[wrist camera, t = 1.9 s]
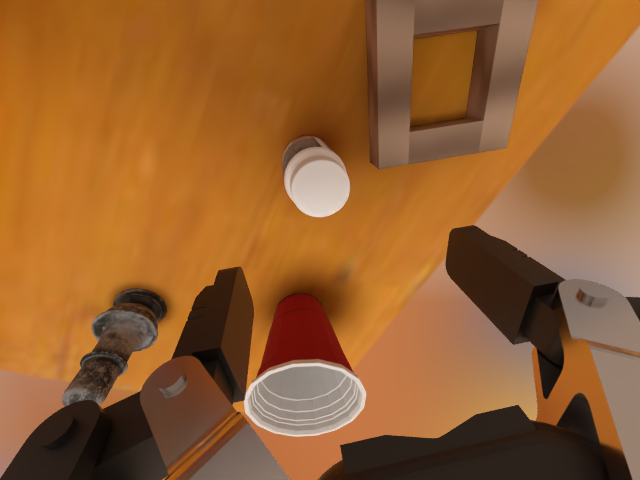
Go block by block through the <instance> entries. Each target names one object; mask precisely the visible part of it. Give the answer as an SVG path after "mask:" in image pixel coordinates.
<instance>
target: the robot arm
mask: <svg viewBox="0 0 640 480" xmlns="http://www.w3.org/2000/svg"><path fill="white" fill-rule="evenodd" d="M446 270H447V273H448V275H449V276H450V278H451V279H452V280H453V281H454V282H455V283H456V284H457V285H458V286H459V287H460V289H461V290H462V291H463V292H464V293H465V294H466V295H467V296H468V297H469V298H470V299H471V300H472V301H473V302H474V303H475V304H476V306H477V307H478V308H479V309H480V310H481V311H482V312H483V313H484V314H485V315H486V316H487V317H488V318H489V319H490V321H492V323H493V324H494V325H495V326H496V327H497V328H498V329H499V330H500V331H501V332H502V333H503V334H504V335H505V336H506V337H507V338H508V340H509V341H510V342H511V343H512V344H513V345H514V344H519V343H524V342H529V341H530V342H531V343H532V344H533V345H534V347H533V349H532V363H533V371H534V380H535V388H536V397H537V409H538V410H537V418H536V421H533V420H530V419H529V418H528V417H527V416H526V414H525V413H524V412H523V410H521V408H520V407H519V405H516V406H511V407H507V408H503V409H498V410H494V411H489V412H485V413H481V414H476V415H474V416H473V417H471V418H470V419H468V420H467V421H465V422H464V423H462V424H460V425H459V426H457V427H456V428H454V429H453V430H451V431H450V432H448V433H446V434H445V435H443V436H441V437H439V438H433V439H432V438H418V437H405V436H391V435H383V436H379V437H375V438H370V439H366V440H362V441H357V442H353V443H349V444H344V445H341V446H340V447H341V453H342V458H343V460H341V461H340V462H338V463H337V464H335V465H333V466H332V467H331V468H330V469H329V470H327V471H326V472H325V473H324V474H323V475H322V476H321V477H320V478H319V479H318V480H640V298H639V297H624V296H623V295H621V294H620V293H619V292H617V291H615V290H613V289H611V288H609V287H607V286H605V285H602V284H599V283H596V282H592V281H587V280H579V279H572V280H565V279H563V278H562V277H560V276H559V275H557V274H556V273H554V272H552V271H551V270H549V269H548V268H546V267H545V266H543V265H542V264H540V263H539V262H537V261H535V260H534V259H532V258H531V257H527V255H526V254H525V253H523V252H521V251H520V250H519V251H518V250H517V248H515V247H514V246H512V245H511V244H509V243H508V242H506V241H504V240H501V239H499V238H496V237H493V236H490V235H488V234H487V233H486V232H484V231H482V230H481V229H480V228H478V227H476V226H474V225H471V226H466V227H460V228H455V229H452V230H451V232H450V235H449V241H448V249H447V256H446ZM253 317H254V308H253V301H252V297H251V294H250V291H249V288H248V285H247V282H246V279H245V276H244V273H243V270H242V268H241V267H234V268H228V269H223V270H219V271H218V273H217V276H216V279H215V282H214V285H212V286H206V287H205V288H204V289H203V290H202V291H201V292H200V294H199V295H198V296H197V297H196V299H195V301H194V304H193V306H192V311H190V314H189V316H188V321H186V324H185V326H184V329H183V332H182V334H181V337H180V339H179V342H178V344H177V347H176V349H175V352H174V354H173V357H172V359H171V360H170V361H168V362H166V363H164V364H163V365H161V366H160V367H159V368H157V369H156V370H155V371H154V372H153V373H152V374H151V375H150V376H149V378H148V379H147V380H146V382H145V383H144V385H143V387H142V390H141V391H140V392H138V393H136V394H134V395H132V396H130V397H128V398H126V399H123V400H121V401H119V402H117V403H115V404H113V405H111V406H108V407H106V408H104V409H102V408H101V407H100V406H99V405H98V404H97V403H96V402H95V401H93V400H81V401H77V402H74V403H72V404H70V405H67V406H65V407H64V408H62V409H60V410H59V411H57V412H55V413H54V414H53V415H52V416H50V417H49V418H47V419H46V420H45V421H44V422H43V423H41V424H40V425H39V426H38V427H37V428H36V429H35V430H34V432H33V433H32V434H31V435H30V436H29V437H28V439H27V440H26V441H25V443H24V444H23V446H22V447H21V449H20V450H19V452H18V453H17V455H16V456H15V458H14V459H13V461H12V462H11V464H10V465H9V466H8V468H7V469H6V471H5V472H4V474H3V476H2V477H1V478H0V480H162V479H163V478H165V477H167V476H168V477H167V478H166V479H165V480H290V479H289V477H288V476H287V475H286V473H285V472H284V470H283V469H282V468H281V466H280V465H279V464H278V463H277V461H276V460H275V458H274V457H273V456H272V454H271V453H270V451H269V450H268V449H267V447H266V446H265V445H264V443H263V442H262V441H261V439H260V438H259V436H258V435H257V434H256V432H255V431H254V430H253V429H252V427H251V426H250V424H249V423H248V422H247V420H246V419H245V418H244V416H243V415H242V414H241V413H240V412H238V413H237V411H236V410H235V409H234V408H233V406H232V405H233V403H234V402H239V401H244V400H245V394H246V384H247V374H248V365H249V355H250V346H251V336H252V327H253Z"/></svg>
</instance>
